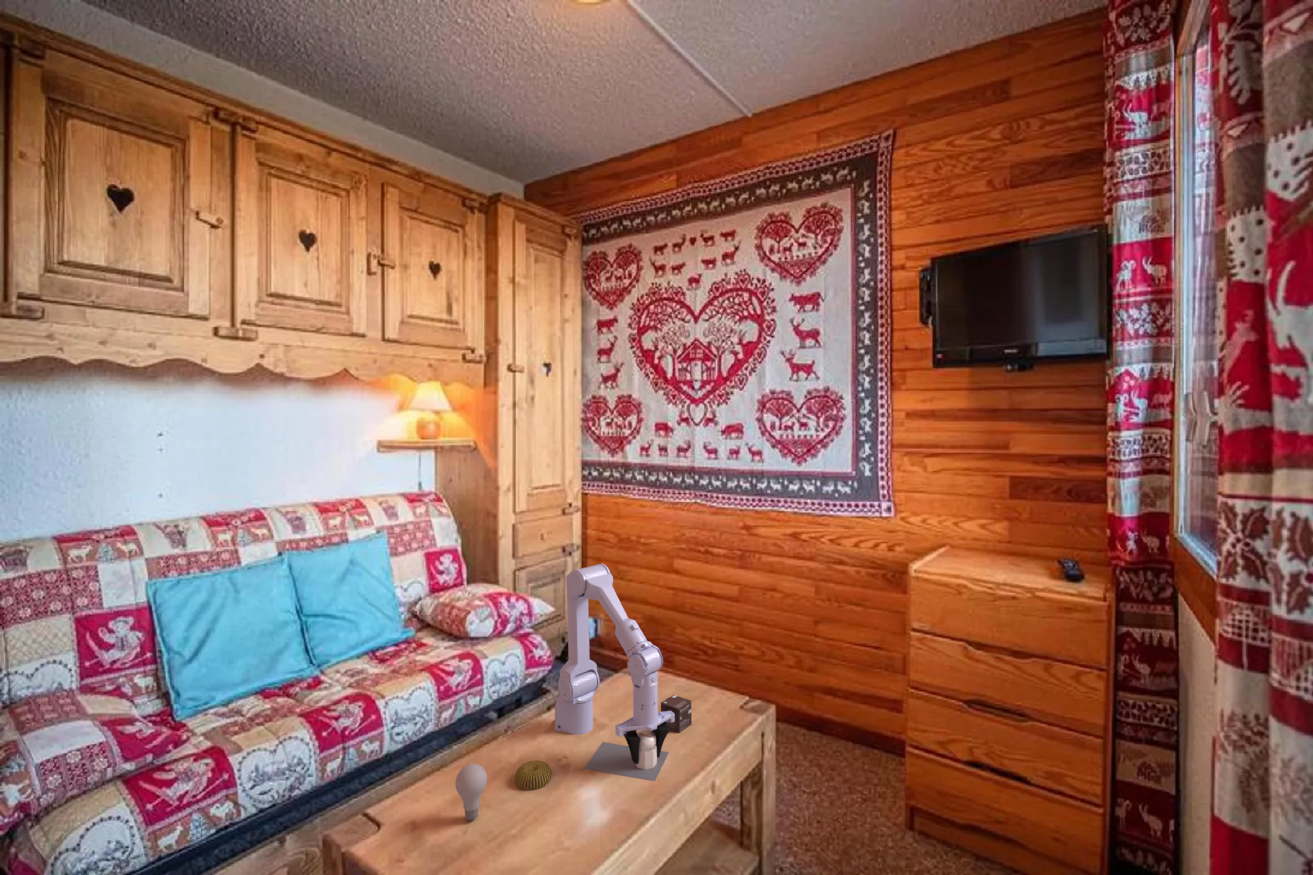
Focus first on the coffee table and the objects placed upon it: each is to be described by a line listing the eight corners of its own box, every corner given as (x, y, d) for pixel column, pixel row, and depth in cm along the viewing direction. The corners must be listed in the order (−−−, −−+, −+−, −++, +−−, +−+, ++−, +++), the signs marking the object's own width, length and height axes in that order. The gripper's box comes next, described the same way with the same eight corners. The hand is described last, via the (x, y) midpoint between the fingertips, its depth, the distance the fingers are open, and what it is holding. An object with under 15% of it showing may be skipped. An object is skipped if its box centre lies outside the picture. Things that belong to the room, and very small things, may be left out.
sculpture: (527, 782, 127) (507, 766, 133) (527, 800, 127) (508, 784, 133) (558, 767, 132) (538, 752, 138) (558, 784, 133) (538, 769, 138)
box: (678, 737, 152) (678, 709, 152) (659, 730, 156) (659, 702, 156) (692, 727, 157) (692, 700, 157) (673, 721, 161) (673, 694, 160)
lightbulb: (476, 806, 125) (475, 754, 125) (493, 818, 121) (493, 764, 121) (449, 821, 120) (449, 767, 120) (467, 834, 116) (466, 778, 116)
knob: (650, 771, 136) (650, 741, 136) (631, 766, 138) (631, 737, 138) (659, 760, 140) (659, 731, 140) (640, 755, 142) (640, 727, 142)
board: (583, 773, 137) (583, 768, 137) (602, 745, 148) (602, 742, 148) (655, 785, 132) (655, 781, 132) (668, 756, 144) (668, 752, 143)
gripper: (624, 715, 131) (625, 776, 132) (681, 700, 138) (681, 758, 139) (611, 702, 138) (611, 760, 138) (666, 688, 145) (666, 744, 145)
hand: (645, 758), depth 139 cm, fingers closed on knob, 5 cm apart
